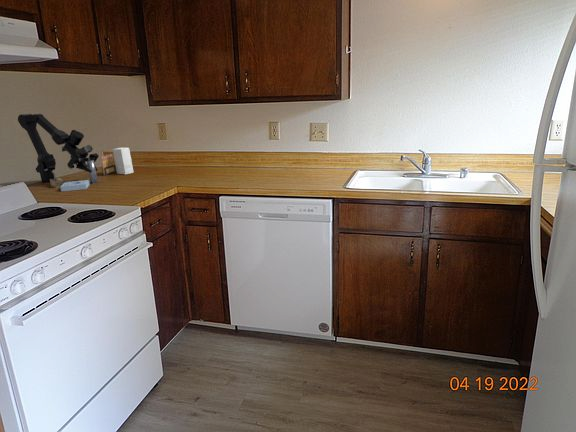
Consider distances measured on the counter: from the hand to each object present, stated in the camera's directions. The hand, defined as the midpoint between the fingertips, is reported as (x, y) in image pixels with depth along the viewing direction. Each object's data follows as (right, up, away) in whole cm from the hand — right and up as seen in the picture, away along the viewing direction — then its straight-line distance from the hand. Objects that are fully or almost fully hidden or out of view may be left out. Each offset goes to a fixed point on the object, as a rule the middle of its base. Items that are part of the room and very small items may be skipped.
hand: (94, 171), depth 232 cm
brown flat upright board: (-3, +1, +27) cm, 27 cm away
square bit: (-20, -8, -1) cm, 21 cm away
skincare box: (+7, +1, +27) cm, 28 cm away
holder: (-6, -10, -8) cm, 14 cm away
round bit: (-1, -6, +2) cm, 7 cm away
